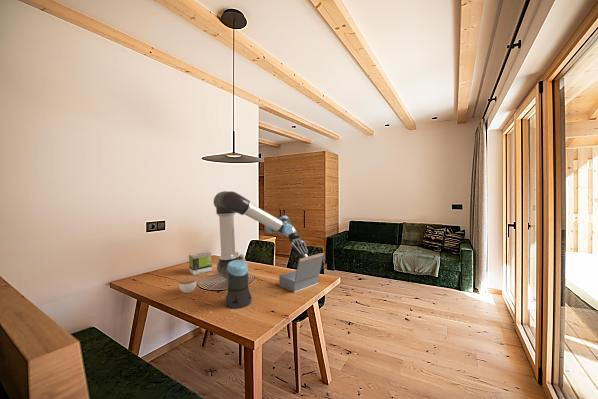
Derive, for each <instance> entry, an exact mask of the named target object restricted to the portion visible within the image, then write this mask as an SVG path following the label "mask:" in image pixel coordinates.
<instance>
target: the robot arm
mask: <svg viewBox="0 0 598 399" xmlns="http://www.w3.org/2000/svg"><path fill="white" fill-rule="evenodd" d="M213 206H214V207H215V214H216V215H217V216H218V218H219V240H220V241H219V242H220V256H218V262H217V265H216V271H217V273H218V274H219V275H220V276H221V277H222V278H223V279H225V280H227V292H226V295H225V298H224V305H225V306H226V307H227V308H229V309H240V308H243V307H244V308H245V307H246V306H249V305H250V304H251V303H252V301H253V300H252V294H251V291H250V288H249V266H248V263H247V261H246V260H245V261H240V260H238V257H239V254H238V255H237V254H236V253H235V252H236V243H235V242H236V239H235V237H236V236H235V218H234V216H235V215H236V214H238V215H239V214H240V215H241V216H247V217H249V218H250V219H252V220H254V221H256V222H259V223H260V224H262V225H264V226H265V227H264V228H265V231H266V232H267V234H273V233H274V234H280V235H283V236H286V237H287V239H288V240H289V242H290V244H289V247H290V248H292V250H294V252H295V254H297V256H299V257H300V258H305V257H308V256H309V255H308V253H309V250H308V247H307V245H306V241H305V240H302V238H300V234H299V233H298V231H297V230H296V228H295V226H294V224H293V223H292V221H291V219H290V218H289V217H288V216H287V215H282V216H280V217H278V218H277V217H276V216H274V215H272V214H270V213H269V212H267V211H265V210H263V209H262V208H260V207H258V206H256V205H255V204H253V203H251V201H250V200H249V199H247V198H246V197H245V196H242V195H241V194H239V193H238V192H236V191H227V190H226V191H221V192H220V191H219V192H218V193H216V195H215V196H214V197H213Z"/></svg>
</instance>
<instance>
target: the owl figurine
mask: <svg viewBox="0 0 598 399" xmlns="http://www.w3.org/2000/svg"><path fill="white" fill-rule="evenodd" d="M235 253H236V254H237V255H238V260H240V261H245V262H246V258H245V254H242V253H240V254H239V252H238V251H235Z"/></svg>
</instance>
